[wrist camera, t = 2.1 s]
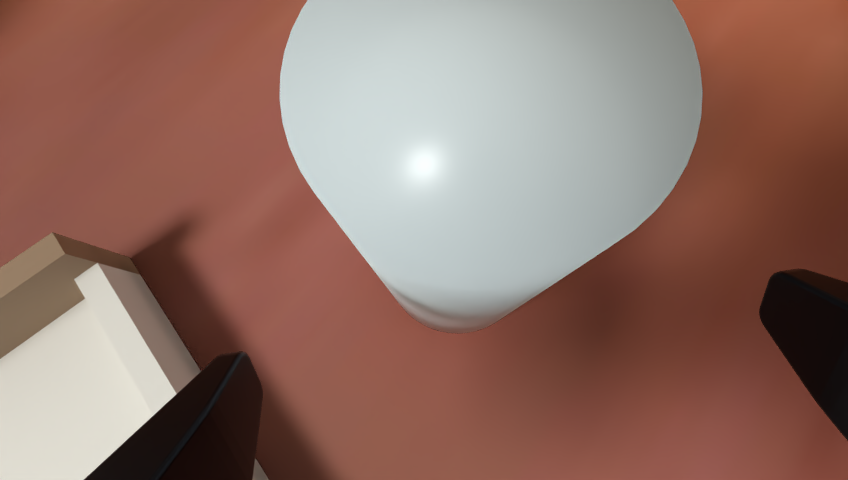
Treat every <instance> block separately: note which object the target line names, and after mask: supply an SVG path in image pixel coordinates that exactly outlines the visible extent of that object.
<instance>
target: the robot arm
mask: <svg viewBox="0 0 848 480" xmlns="http://www.w3.org/2000/svg"><path fill="white" fill-rule="evenodd" d="M759 315H760V319H761V321H762V324H763V325H764V327H765V328H766V330H767V331H768V333H769V334H770V336H771V337H772V338H773V340H774V341H775V343H776V344H777V346H778V347H779V349H780V350H781V352H782V353H783V355H784V356H785V358H786V359H787V360H788V362H789V363H790V365H791V366H792V368H793V369H794V371H795V372H796V374H797V375H798V377H799V378H800V379H801V381H802V382H803V384H804V385H805V387H806V388H807V390H808V391H809V392H810V394H811V395H812V397H813V398H814V399H815V401H816V402H817V404H818V405H819V406H820V407H821V409H822V410H823V411H824V412H825V414H826V415H827V416H828V417H829V419H830V420H831V421H832V422H833V424H834V425H835V426H836V427H837V428H838V430H839V431H840V432H841V433H842V434H843V436H844V437H845V438H846V439H847V440H848V283H847V282H844V281H841V280H838V279H834V278H831V277H828V276H825V275H822V274H818V273H815V272H812V271H809V270H805V269H792V270H786V271H779V272H776V273H774V274H773V275H772V276H771V277H770V279H769V282H768V285H767V288H766V291H765V294H764V297H763V300H762V303H761V306H760V309H759ZM262 398H263V391H262V385H261V382H260V380H259V378H258V376H257V374H256V371H255V369H254V367H253V365H252V362H251V360H250V358H249V356H248V355H247V354H246V353H245V352H242V351H238V352H232V353H225V354H221V355H219V356H217V357H216V358H215V359H214V360H213V361H212V362H211V363H210V364H208V365H207V366H206V367H205V368H204V369H203V370H202V371H201V372H200V373H199V374H198V375H197V376H195V377H194V378H193V379H192V380H191V381H190V382H189V383H188V384H187V385H186V386H185V387H184V388H182V389H181V390H180V391H179V392H178V393H177V394H176V395H175V396H174V397H173V398H172V399H171V400H169V401H168V402H167V403H166V404H165V405H164V406H163V407H162V408H161V409H160V410H159V411H158V412H156V413H155V414H154V415H153V416H152V417H151V418H150V419H149V420H148V421H147V422H146V423H145V424H143V425H142V426H141V427H140V428H139V429H138V430H137V431H136V432H135V433H134V434H133V435H132V436H130V437H129V438H128V439H127V440H126V441H125V442H124V443H123V444H122V445H121V446H120V447H119V448H117V449H116V450H115V451H114V452H113V453H112V454H111V455H110V456H109V457H108V458H107V459H106V460H104V461H103V462H102V463H101V464H100V465H99V466H98V467H97V468H96V469H95V470H94V471H93V472H91V473H90V474H89V475H88V476H87V477H86V478H85V479H84V480H252V479H253V472H254V464H255V456H256V448H257V440H258V431H259V423H260V415H261V407H262Z"/></svg>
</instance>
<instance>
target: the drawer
mask: <svg viewBox="0 0 848 480" xmlns="http://www.w3.org/2000/svg"><path fill="white" fill-rule="evenodd" d="M200 372H201V371H200V369H199V367H198V366H197V364H196V363H195V361H194V359H193V358H192V356H191V355H190V353H189V351H188V350H187V348H186V347H185V345H184V344H183V342H182V340H181V339H180V337H179V336H178V334H177V332H176V331H175V329H174V328H173V326H172V324H171V323H170V321H169V320H168V318H167V316H166V315H165V313H164V312H163V310H162V308H161V307H160V305H159V304H158V302H157V301H156V299H155V297H154V296H153V294H152V293H151V291H150V289H149V288H148V286H147V285H146V283H145V281H144V280H143V278H142V277H141V275H140V273H139V272H138V270H137V269H136V267H135V266H134V264H133V262H132V261H131V259H130V258H129V257H127V256H124V255H120V254H117V253H114V252H111V251H108V250H105V249H102V248H99V247H96V246H93V245H90V244H87V243H83V242H80V241H77V240H74V239H71V238H68V237H65V236H62V235H59V234H56V233H53V232H52V233H51V234H49V235H48V236H46V237H45V238H43V239H42V240H41V241H39V242H38V243H36V244H35V245H33V246H32V247H30V248H29V249H27V250H26V251H24V252H23V253H21V254H20V255H19V256H17V257H16V258H14V259H13V260H11V261H10V262H8V263H7V264H5V265H4V266H2V267H1V268H0V480H84V479H85V478H86V477H87V476H88V475H89V474H90V473H91V472H93V471H94V470H95V469H96V468H97V467H98V466H99V465H100V464H101V463H102V462H103V461H104V460H106V459H107V458H108V457H109V456H110V455H111V454H112V453H113V452H114V451H115V450H116V449H117V448H119V447H120V446H121V445H122V444H123V443H124V442H125V441H126V440H127V439H128V438H129V437H130V436H132V435H133V434H134V433H135V432H136V431H137V430H138V429H139V428H140V427H141V426H142V425H143V424H145V423H146V422H147V421H148V420H149V419H150V418H151V417H152V416H153V415H154V414H155V413H156V412H158V411H159V410H160V409H161V408H162V407H163V406H164V405H165V404H166V403H167V402H168V401H169V400H171V399H172V398H173V397H174V396H175V395H176V394H177V393H178V392H179V391H180V390H181V389H182V388H184V387H185V386H186V385H187V384H188V383H189V382H190V381H191V380H192V379H193V378H194V377H195V376H197V375H198V374H199V373H200ZM252 480H269V479H268V477H267V476H266V474H265V472H264V471H263V469H262V468H261V466H260V464H259V463H258V461H257V460H256V458H255V464H254V472H253V479H252Z"/></svg>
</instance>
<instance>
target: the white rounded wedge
mask: <svg viewBox="0 0 848 480" xmlns="http://www.w3.org/2000/svg"><path fill="white" fill-rule="evenodd" d="M702 92H703V91H702V81H701V72H700V65H699V61H698V57H697V53H696V50H695V46H694V42H693V40H692V38H691V35H690V33H689V31H688V28H687V26H686V23H685V21H684V19H683V18H682V16H681V14H680V13H679V11H678V9H677V8H676V6H675V4H674V3H673V1H672V0H308V1H307V2H306V4H305V5H304V7H303V8H302V10H301V12H300V14H299V16H298V18H297V20H296V22H295V24H294V26H293V28H292V30H291V33H290V36H289V39H288V42H287V46H286V49H285V52H284V57H283V63H282V68H281V74H280V106H281V114H282V122H283V126H284V130H285V133H286V137H287V140H288V144H289V147H290V149H291V152H292V154H293V156H294V158H295V161H296V163H297V165H298V167H299V170H300V171H301V173H302V174H303V176H304V177H305V179H306V181H307V182H308V184H309V185H310V187H311V188H312V190H313V192H314V193H315V194H316V196H317V197H318V198H319V199H320V201H321V202H322V203H323V205H324V206H325V207H326V209H327V210H328V211H329V213H330V214H331V215H332V216H333V218H334V219H335V220H336V222H337V223H338V224H339V226H340V227H341V228H342V230H343V231H344V232H345V233H346V235H347V236H348V237H349V239H350V240H351V241H352V243H353V244H354V245H355V247H356V248H357V249H358V250H359V252H360V253H361V254H362V256H363V257H364V258H365V260H366V261H367V262H368V264H369V265H370V266H371V267H372V269H373V270H374V271H375V273H376V274H377V275H378V277H379V278H380V279H381V281H382V282H383V283H384V284H385V286H386V287H387V288H388V290H389V291H390V292H391V294H392V295H393V296H394V298H395V299H396V300H397V301H398V303H399V304H400V305H401V306H402V308H403V309H404V310H405V311H406V312H407V313H408V314H409V315H410V316H411V317H412V318H414V319H415V320H417V321H418V322H419V323H421V324H423V325H425V326H427V327H429V328H431V329H434V330H437V331H441V332H446V333H457V334H458V333H469V332H474V331H478V330H481V329H484V328H486V327H488V326H490V325H492V324H494V323H496V322H497V321H499V320H500V319H502V318H503V317H505V316H506V315H508V314H509V313H511V312H512V311H514V310H515V309H517V308H518V307H520V306H521V305H523V304H524V303H526V302H527V301H529V300H530V299H532V298H533V297H535V296H536V295H538V294H539V293H541V292H542V291H544V290H546V289H547V288H549V287H550V286H552V285H553V284H555V283H556V282H558V281H559V280H561V279H562V278H564V277H565V276H567V275H568V274H570V273H571V272H573V271H574V270H576V269H577V268H579V267H580V266H582V265H583V264H585V263H586V262H588V261H589V260H591V259H592V258H594V257H595V256H597V255H598V254H600V253H601V252H603V251H604V250H606V249H608V248H609V247H611V246H612V245H613V244H615V243H616V242H618V241H619V240H621V239H622V238H624V237H625V236H627V235H628V234H629V233H631V232H632V231H634V230H635V229H636V228H637V227H638V226H640V225H641V224H642V223H643V222H644V221H645V220H646V219H647V218H648V217H649V216H650V215H651V214H653V213H654V212H655V211H656V210H657V208H658V207H659V206H660V205H661V203H662V202H663V201H664V200H665V198H666V197H667V196H668V195H669V193H670V192H671V191H672V190H673V188H674V187H675V185H676V183H677V181H678V180H679V178H680V176H681V174H682V173H683V171H684V169H685V167H686V166H687V163H688V161H689V158H690V155H691V153H692V150H693V148H694V145H695V142H696V139H697V134H698V129H699V125H700V120H701V111H702Z"/></svg>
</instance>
